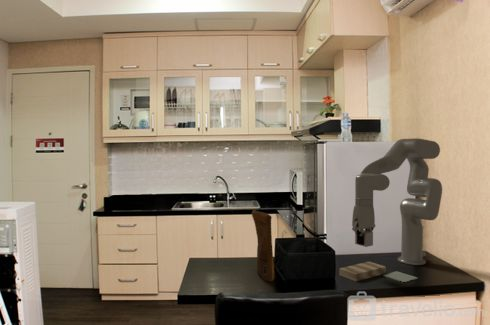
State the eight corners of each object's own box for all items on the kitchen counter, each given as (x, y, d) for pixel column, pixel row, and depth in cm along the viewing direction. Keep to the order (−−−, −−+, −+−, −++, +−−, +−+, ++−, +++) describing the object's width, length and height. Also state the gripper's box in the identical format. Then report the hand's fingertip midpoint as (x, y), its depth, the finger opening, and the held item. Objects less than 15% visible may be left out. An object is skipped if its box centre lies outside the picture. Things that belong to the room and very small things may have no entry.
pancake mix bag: (262, 284, 144) (263, 215, 143) (250, 269, 162) (250, 208, 162) (278, 282, 145) (279, 214, 145) (264, 268, 164) (265, 208, 163)
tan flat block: (368, 267, 166) (368, 261, 166) (385, 273, 159) (385, 266, 159) (339, 275, 156) (339, 268, 156) (355, 281, 148) (355, 274, 148)
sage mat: (396, 272, 161) (396, 271, 161) (417, 278, 152) (417, 277, 152) (382, 275, 155) (382, 274, 155) (403, 282, 147) (403, 281, 147)
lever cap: (361, 242, 161) (361, 229, 161) (372, 245, 156) (373, 231, 156) (355, 243, 159) (355, 230, 158) (366, 246, 154) (366, 233, 153)
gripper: (369, 200, 164) (369, 239, 165) (344, 203, 155) (344, 244, 156) (383, 202, 158) (383, 242, 159) (358, 205, 149) (358, 248, 150)
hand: (363, 243), depth 157 cm, fingers closed on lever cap, 4 cm apart
